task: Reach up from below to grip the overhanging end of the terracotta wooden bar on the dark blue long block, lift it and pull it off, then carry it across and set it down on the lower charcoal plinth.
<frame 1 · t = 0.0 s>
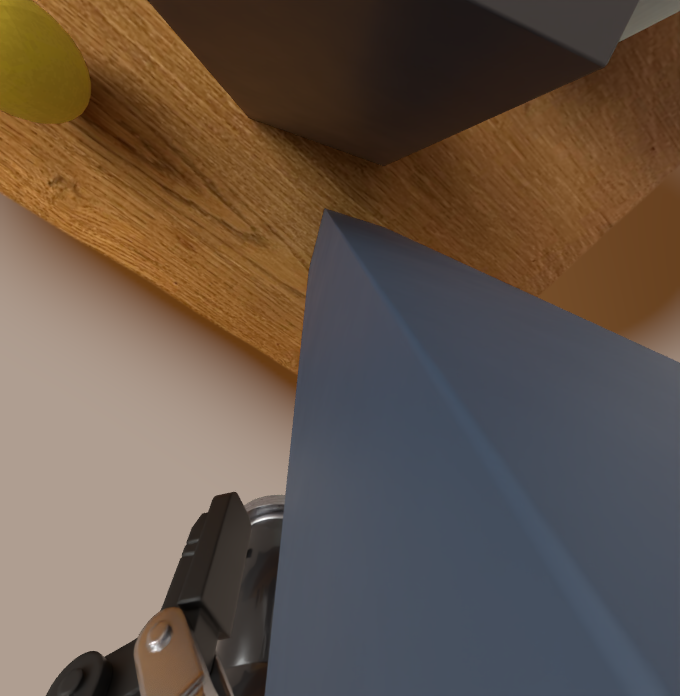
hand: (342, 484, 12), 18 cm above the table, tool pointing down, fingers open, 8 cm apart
lemon: (73, 84, 20), on the table
plinth: (328, 101, 22), on the table
dark blue long block: (345, 249, 26), on the table
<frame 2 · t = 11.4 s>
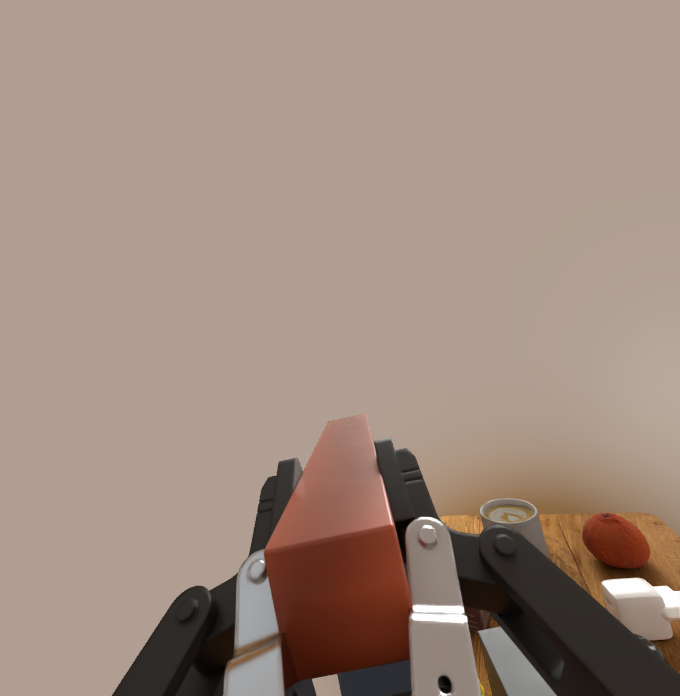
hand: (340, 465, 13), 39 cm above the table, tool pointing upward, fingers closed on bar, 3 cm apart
box: (470, 616, 51), on the table
coffee mug: (521, 558, 61), on the table
power adapter: (663, 631, 42), on the table
fruit: (619, 563, 55), on the table
bar: (355, 503, 16), point 36 cm above the table, touching gripper, dark blue long block
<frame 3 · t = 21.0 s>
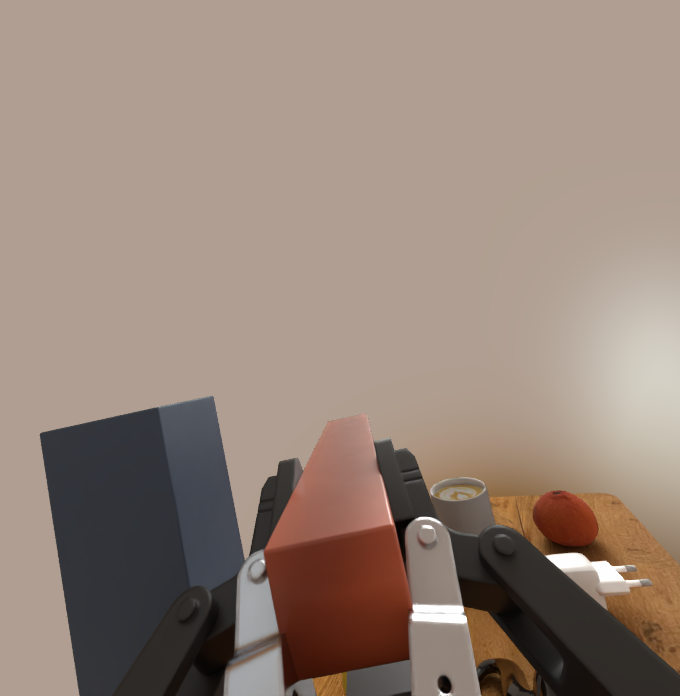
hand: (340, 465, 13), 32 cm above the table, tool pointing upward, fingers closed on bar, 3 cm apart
coffee mug: (472, 539, 59), on the table
power adapter: (600, 607, 40), on the table
fruit: (569, 542, 52), on the table
bar: (355, 502, 16), point 29 cm above the table, touching gripper
when the fingers open (23 cm above the table, at t = 23.8 s): bar stays where it is, resting on plinth.
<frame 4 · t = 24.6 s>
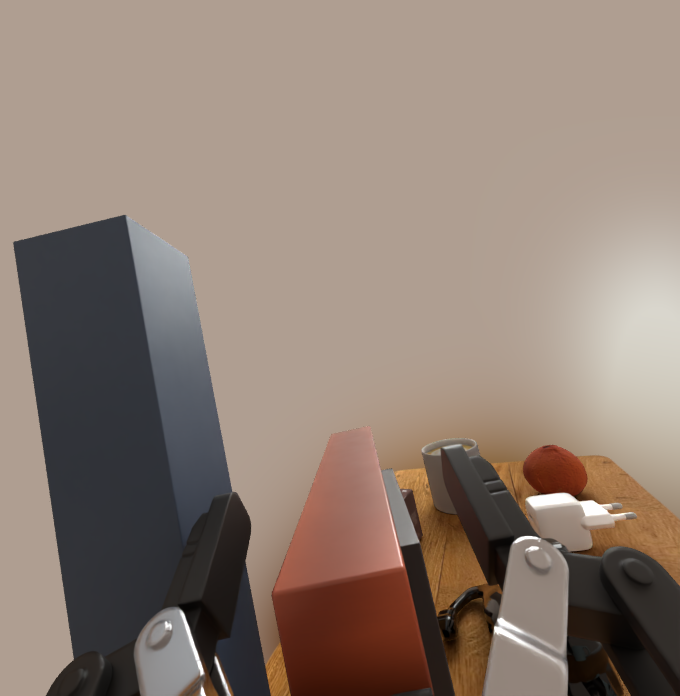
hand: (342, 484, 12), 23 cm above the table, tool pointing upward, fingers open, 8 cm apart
box: (398, 545, 49), on the table
cat figurine: (516, 631, 30), on the table
coffee mug: (463, 497, 59), on the table
power adapter: (586, 544, 40), on the table
fruit: (559, 495, 53), on the table
bar: (360, 522, 16), point 20 cm above the table, touching plinth
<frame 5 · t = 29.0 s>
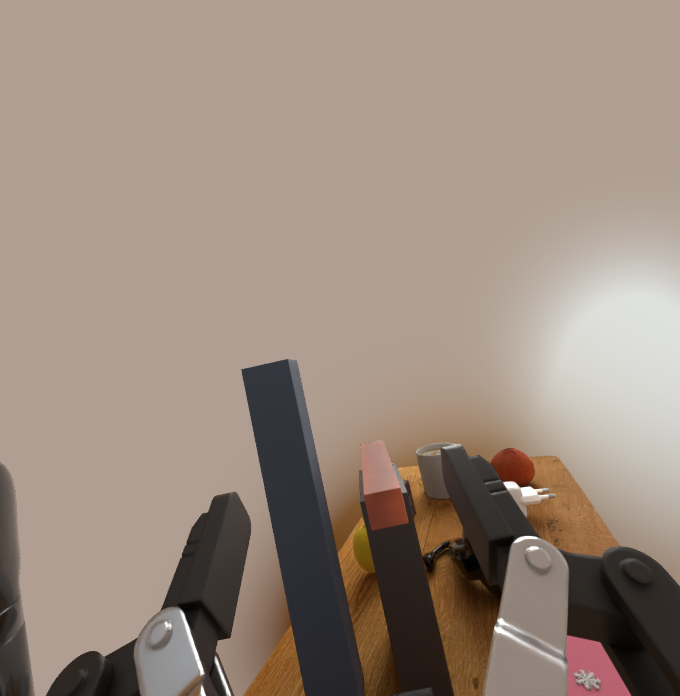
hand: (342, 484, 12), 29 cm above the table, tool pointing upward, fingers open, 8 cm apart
box: (398, 520, 68), on the table
cat figurine: (470, 563, 50), on the table
lemon: (376, 573, 52), on the table
coffee mug: (447, 487, 78), on the table
power adapter: (524, 515, 59), on the table
plinth: (419, 655, 36), on the table
fruit: (516, 485, 72), on the table
bar: (381, 487, 35), point 20 cm above the table, touching plinth
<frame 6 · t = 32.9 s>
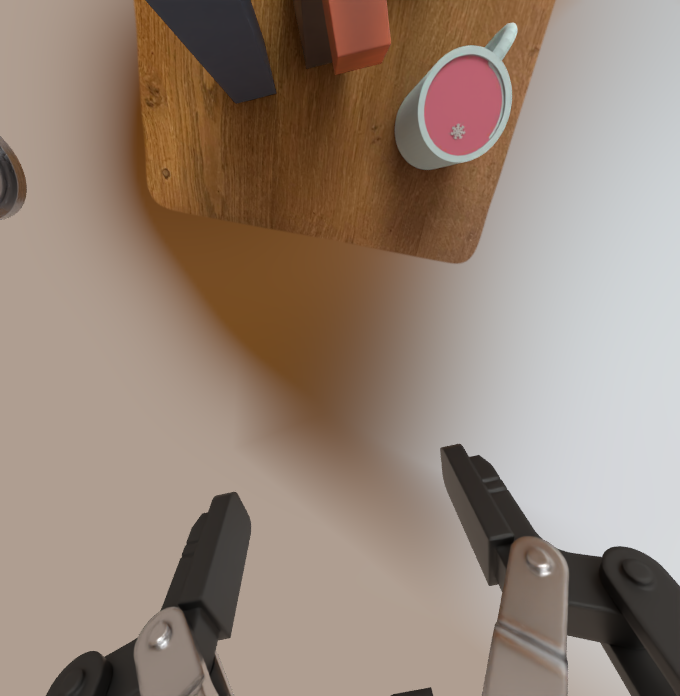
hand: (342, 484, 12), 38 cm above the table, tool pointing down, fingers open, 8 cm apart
mug: (442, 110, 39), on the table
plinth: (317, 5, 34), on the table
dark blue long block: (249, 72, 36), on the table
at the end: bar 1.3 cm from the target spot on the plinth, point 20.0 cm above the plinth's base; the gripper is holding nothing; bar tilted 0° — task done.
